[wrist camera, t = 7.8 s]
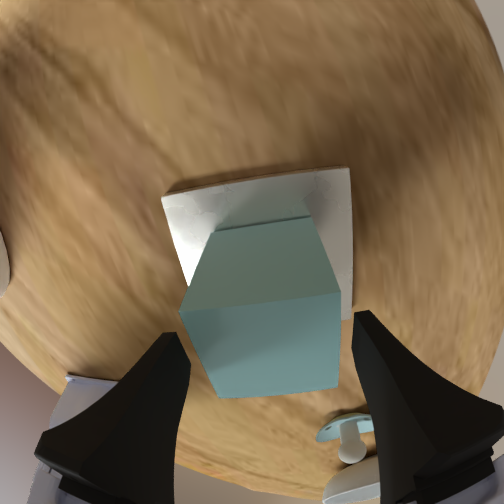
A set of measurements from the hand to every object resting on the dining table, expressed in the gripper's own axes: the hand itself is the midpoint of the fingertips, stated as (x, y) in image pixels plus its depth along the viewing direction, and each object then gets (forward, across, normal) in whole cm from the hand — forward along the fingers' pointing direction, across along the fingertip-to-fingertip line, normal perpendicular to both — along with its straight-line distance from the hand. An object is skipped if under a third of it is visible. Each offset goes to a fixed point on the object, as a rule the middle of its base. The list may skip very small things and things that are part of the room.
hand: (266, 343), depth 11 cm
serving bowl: (+7, -14, +44) cm, 47 cm away
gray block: (+7, 0, 0) cm, 7 cm away
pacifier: (+7, -6, +22) cm, 24 cm away
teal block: (+6, 0, 0) cm, 6 cm away
